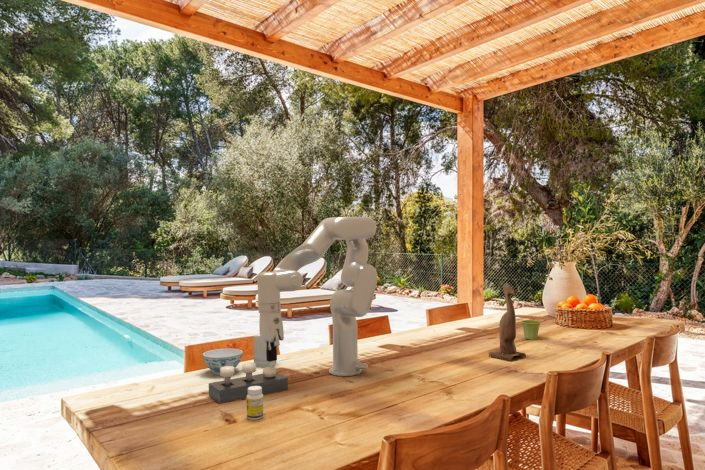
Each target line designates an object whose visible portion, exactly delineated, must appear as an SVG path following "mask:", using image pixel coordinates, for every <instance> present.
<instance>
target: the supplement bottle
mask: <svg viewBox="0 0 705 470" xmlns="http://www.w3.org/2000/svg"><path fill="white" fill-rule="evenodd" d="M246 418H247V419H248V420H250V421H251V420H254V421H255V420H261V419H262V418H264V394H262V387H260V386H251V387H249V388H248V395H247V398H246Z"/></svg>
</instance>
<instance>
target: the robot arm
mask: <svg viewBox="0 0 705 470" xmlns="http://www.w3.org/2000/svg"><path fill="white" fill-rule="evenodd" d="M376 232H377V224H376V221H374V219H373V218H372V217H370V216H335V217H327V218H324V219H322V220H321V221H320V223H319V224H318V225H317V226H316V227H315V228H314V230H313V231H312V232H311V234H310V235H309V236H308V237H307V238H306V239H305V240H304V242H302V244H300V245H299V246H297V247H296V248H295V249H293V250H292V251H290V253H288V254H287V255H286V256H284V257H283V259H281V260H280V262H279V263H278V264H277V265H276V266H275V267H274V269H273V270H272V271H262V272H259V273H258V274H257V277H256V279H257V281H256V282H257V283H256V284H257V299H258V300H257V303H258V305H257V306H258V314H259V323H258V324H259V334H260V337H261V338H262V339H263V341H264V342H265V347H266V349H267V350H266V357H267V361H269V362H271V361H276V362H277V361H278V351H277V349H278V346H280V341H284V339H285V335H284V323H283V322H284V321H283V317H282V312H281V311H282V309H281V292H295V291H297V290H299V289H300V288H301V287H302V285H303V283H304V278H303V275H302V274H301V273H300V272H299V270H301V269H302V268H303V267H306V266H308V265H310V264H312V263H315V262H317V261H319V260H321V258H322V257H323V256H324V254H325V253H326V252H327V251H328V250H329V248H330V247H331V246H332V245H333V244H334V242H335V241H338V240H339V241H340V240H341V241H342V240H345V243H346V245H347V246H346V247H347V248H346V250H347V251H346V255H345V259H344V263H343V267H342V269H341V274H340V281H341V284H342V285H344V286H346V287H349V288H353V289H338V290H336V291H335V292H334V293H332V294H331V297H330V299H329V303H330V304H329V306H330V307H329V308H330V313H331V318H332V366H331V367H330V368H329V369H328V372H329V374H330V375H334V376H337V377H338V376H339V377H352V376H357V375H360V374H361V373H362V371H363V370H366V371H367V370H368V369H369V365H368V364H367V363H362V362H361V359H359V358H358V356H359V355H358V351H359V350H358V321H357V318H361V317H362V318H363V317H364V316H366V315H367V314H368V313H369V312H370V309H371V306H372V303H373V299H374V296H375V292H376V288H377V283H378V273H377V270H376V268H375V267H374V266H373V265H371V264H369V263H367V262H368V258H369V245H368V243H367V239H370V238H372V237H373V236H374V235H375V234H376Z"/></svg>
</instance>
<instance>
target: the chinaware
mask: <svg viewBox="0 0 705 470" xmlns="http://www.w3.org/2000/svg"><path fill="white" fill-rule="evenodd" d="M243 354H244V351H243V350H241V349H238V348H217V349H216V348H215V349H211V350H208V351H205V352H203V353H202V359H203V360H204V364H205V365H206V366H207V368H209V370H211V371H213V374H214V375H215V376H216V375H217V376H220V368H221V367H224V366H233V367H234V369H236V368H237V367H238V366H239V364H240V363H241V360H242V357H243Z"/></svg>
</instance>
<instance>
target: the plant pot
mask: <svg viewBox="0 0 705 470" xmlns="http://www.w3.org/2000/svg"><path fill="white" fill-rule="evenodd" d="M520 323H521V325H522V329H523V334H524V335H523V337H524V339H525V340H527V339H528V340H530V341H531V340H532V341H533V340H534V341H535V340H538V335H539V329H540V326H541V321H538V320H533V319H528V320H527V319H525V320H524V319H523V320H521V321H520Z"/></svg>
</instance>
